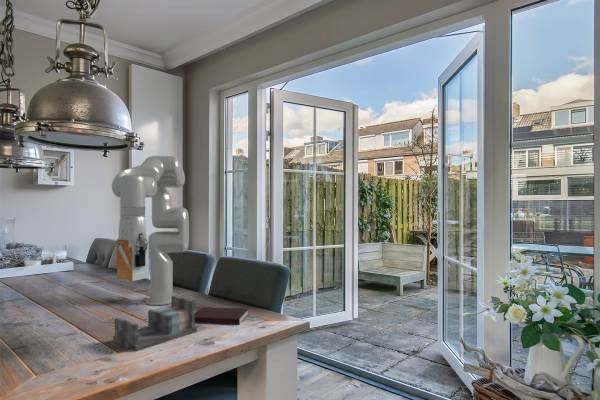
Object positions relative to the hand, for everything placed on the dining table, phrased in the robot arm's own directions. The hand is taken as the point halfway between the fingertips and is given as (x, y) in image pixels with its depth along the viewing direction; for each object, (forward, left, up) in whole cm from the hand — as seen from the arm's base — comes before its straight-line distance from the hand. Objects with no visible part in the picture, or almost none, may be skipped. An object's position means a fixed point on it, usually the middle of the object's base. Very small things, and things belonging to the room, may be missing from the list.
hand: (132, 264), depth 126 cm
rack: (+4, +6, -24) cm, 25 cm away
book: (+6, +32, -25) cm, 41 cm away
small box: (0, 0, -5) cm, 5 cm away
